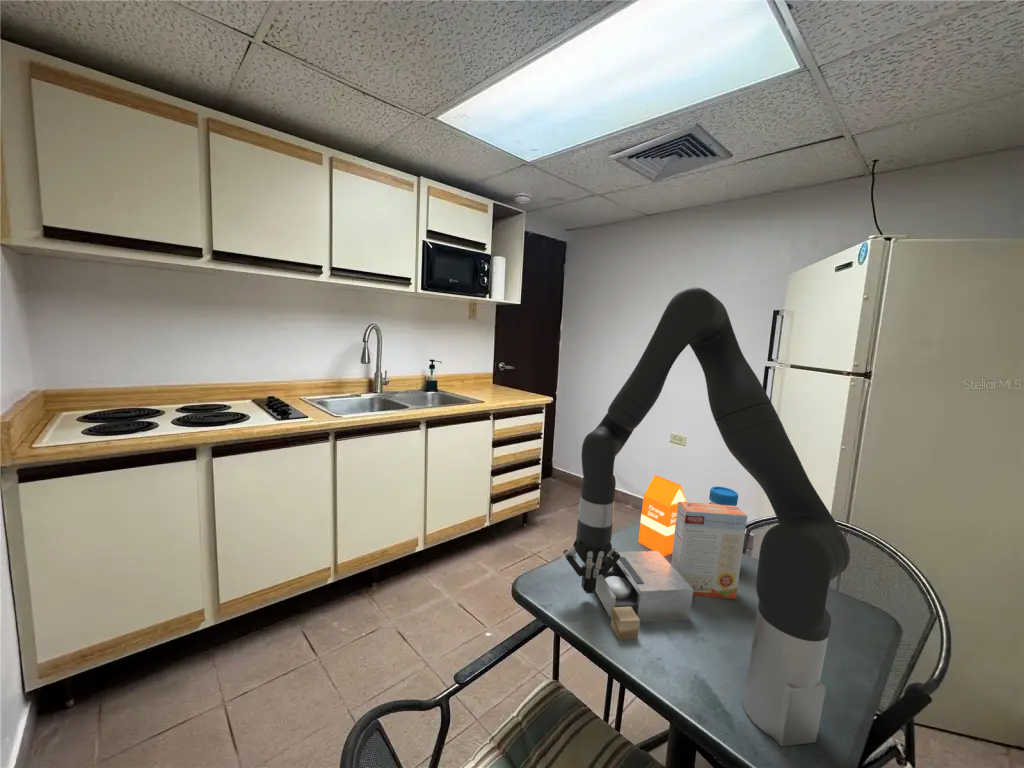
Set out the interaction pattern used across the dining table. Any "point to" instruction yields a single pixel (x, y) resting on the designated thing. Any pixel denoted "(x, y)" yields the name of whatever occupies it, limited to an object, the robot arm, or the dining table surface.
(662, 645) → the dining table surface
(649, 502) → the orange juice
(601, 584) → the grey drawer
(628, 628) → the tan block
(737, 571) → the cracker box
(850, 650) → the dining table surface
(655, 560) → the block
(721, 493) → the beverage bottle
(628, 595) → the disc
